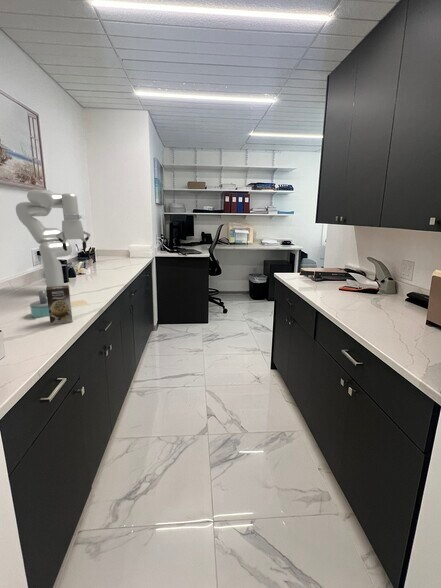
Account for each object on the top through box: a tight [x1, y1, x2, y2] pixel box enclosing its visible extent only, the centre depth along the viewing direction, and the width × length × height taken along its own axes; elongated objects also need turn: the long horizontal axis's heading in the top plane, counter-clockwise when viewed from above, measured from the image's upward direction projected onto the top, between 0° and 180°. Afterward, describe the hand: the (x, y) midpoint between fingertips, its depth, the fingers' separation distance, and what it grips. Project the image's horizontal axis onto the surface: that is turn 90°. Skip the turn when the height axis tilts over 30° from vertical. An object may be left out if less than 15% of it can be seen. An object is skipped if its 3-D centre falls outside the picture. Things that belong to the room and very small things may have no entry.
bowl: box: [29, 305, 49, 319], centre depth 149 cm, size 11×11×5 cm
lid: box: [29, 289, 48, 308], centre depth 147 cm, size 11×11×7 cm
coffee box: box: [45, 284, 74, 326], centre depth 138 cm, size 9×6×16 cm
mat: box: [70, 299, 89, 308], centre depth 166 cm, size 11×11×1 cm
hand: (75, 249), depth 169 cm, fingers open, 9 cm apart
